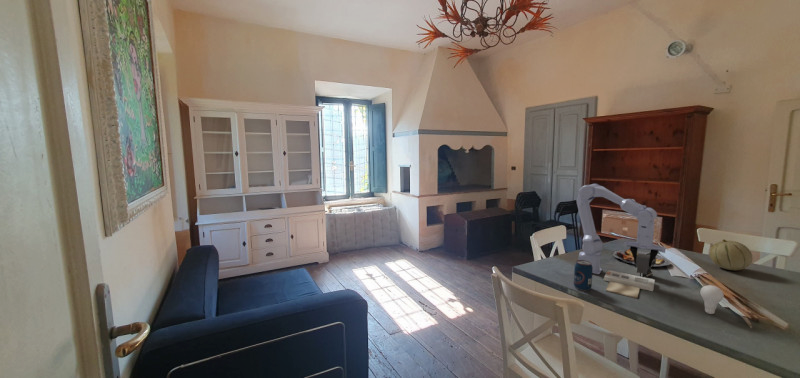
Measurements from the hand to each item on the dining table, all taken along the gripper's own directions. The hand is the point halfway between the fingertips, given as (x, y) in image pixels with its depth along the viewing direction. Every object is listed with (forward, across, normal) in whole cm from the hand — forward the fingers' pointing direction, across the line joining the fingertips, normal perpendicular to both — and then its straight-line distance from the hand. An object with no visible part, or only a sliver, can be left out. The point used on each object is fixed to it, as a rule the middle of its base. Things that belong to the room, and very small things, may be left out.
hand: (642, 264), depth 141 cm
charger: (+3, 0, 0) cm, 3 cm away
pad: (+10, -6, -12) cm, 16 cm away
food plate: (+10, -4, +37) cm, 39 cm away
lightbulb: (+10, +22, -15) cm, 28 cm away
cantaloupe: (+10, +32, +49) cm, 59 cm away
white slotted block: (+10, -4, 0) cm, 11 cm away
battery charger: (+10, +2, +13) cm, 16 cm away
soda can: (+10, -20, -20) cm, 30 cm away
